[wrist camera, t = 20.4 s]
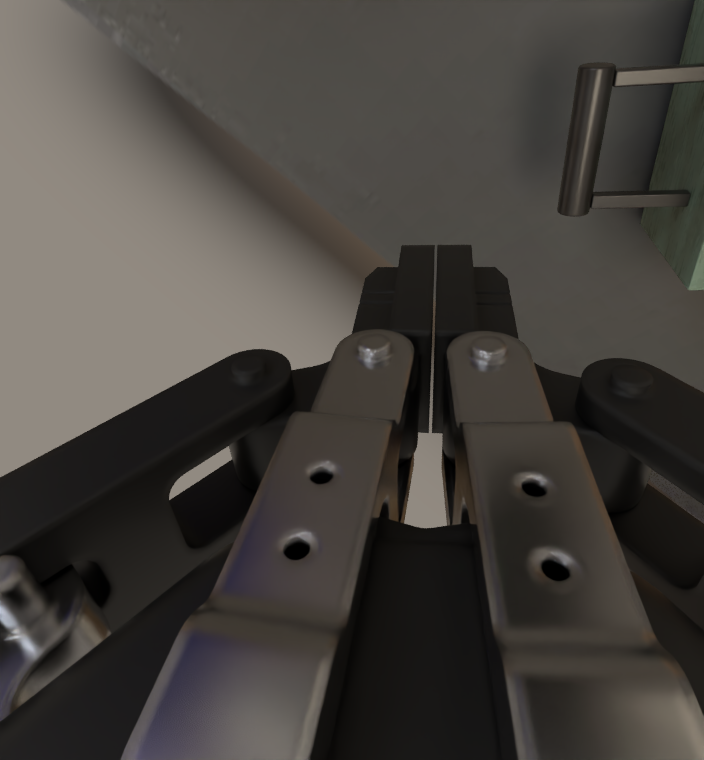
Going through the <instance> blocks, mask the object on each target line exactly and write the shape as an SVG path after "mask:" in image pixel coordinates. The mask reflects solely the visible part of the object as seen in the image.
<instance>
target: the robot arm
mask: <svg viewBox="0 0 704 760" xmlns="http://www.w3.org/2000/svg"><path fill="white" fill-rule="evenodd" d="M434 249H435V245H402V246H401V253H400V259H399V266H398V267H377V268H376V269H375V270H374V271H373V272H372V273H371V274H370V275H369V276H368V277H366V278H365V282H364V286H363V290H362V295H361V299H360V304H359V307H358V311H357V315H356V319H355V323H354V327H353V331H352V334H351V335H349V336H348V337H346V338H344V339H343V340H342V341H341V342H340V343H339V344H338V345H337V347H336V349H335V351H334V354H333V356H332V359H331V361H329V362H327V363H324V364H321V365H317V366H313V367H308V368H303V369H297V370H291V366H290V362H289V360H287V358H286V357H285V356H283V355H282V354H280V353H278V352H275V351H272V350H265V349H254V350H246V351H242V352H238V353H236V354H233V355H231V356H229V357H226V358H225V359H223V360H221V361H219V362H217V363H215V364H213V365H212V366H210V367H208V368H206V369H204V370H202V371H200V372H198V373H196V374H195V375H193V376H191V377H189V378H187V379H185V380H183V381H181V382H179V383H178V384H176V385H174V386H172V387H170V388H168V389H166V390H164V391H162V392H161V393H159V394H157V395H155V396H153V397H151V398H150V399H147V400H145V401H144V402H142V403H140V404H138V405H136V406H134V407H132V408H130V409H129V410H127V411H125V412H123V413H121V414H119V415H117V416H115V417H113V418H112V419H110V420H108V421H106V422H104V423H102V424H100V425H98V426H97V427H95V428H93V429H91V430H89V431H87V432H85V433H83V434H82V435H80V436H78V437H76V438H74V439H72V440H70V441H68V442H66V443H65V444H63V445H61V446H59V447H57V448H55V449H53V450H51V451H49V452H48V453H46V454H44V455H42V456H40V457H38V458H36V459H34V460H32V461H31V462H29V463H27V464H25V465H23V466H21V467H19V468H18V469H16V470H14V471H12V472H10V473H8V474H6V475H4V476H2V477H0V760H704V524H703V523H702V522H701V521H699V520H698V519H696V518H695V517H694V516H692V515H691V514H689V513H688V512H687V511H685V510H684V509H682V508H681V507H680V506H678V505H677V504H675V503H674V502H673V501H671V500H670V499H668V498H667V497H666V496H664V495H663V494H661V493H660V492H659V491H657V490H656V489H654V488H653V487H652V486H650V485H649V484H648V483H647V482H648V480H649V477H650V475H651V472H652V469H653V470H654V471H655V472H657V473H658V474H660V475H661V476H663V477H664V478H666V479H667V480H668V481H670V482H671V483H673V484H674V485H676V486H677V487H679V488H680V489H681V490H683V491H684V492H686V493H687V494H689V495H690V496H692V497H693V498H694V499H696V500H697V501H699V502H700V503H702V504H703V505H704V393H703V392H701V391H699V390H697V389H695V388H694V387H692V386H690V385H688V384H686V383H684V382H683V381H681V380H679V379H677V378H675V377H673V376H672V375H670V374H668V373H666V372H664V371H662V370H660V369H658V368H656V367H654V366H652V365H650V364H647V363H644V362H640V361H637V360H631V359H622V358H611V359H604V360H599V361H596V362H594V363H592V364H590V365H589V366H587V367H586V368H585V369H584V371H583V373H582V377H581V378H580V377H575V376H571V375H566V374H562V373H558V372H554V371H551V370H548V369H545V368H543V367H541V366H539V365H537V364H536V363H534V362H533V359H532V356H531V353H530V351H529V349H528V347H527V346H526V345H525V344H524V343H523V342H521V341H520V340H519V339H518V334H517V328H516V323H515V317H514V312H513V307H512V301H511V296H510V290H509V285H508V280H507V278H506V277H505V276H504V275H503V274H502V273H501V272H500V271H499V270H498V269H497V268H495V267H473V260H472V248H471V245H438V249H437V281H436V315H435V348H434V383H433V418H432V419H433V420H432V433H443V447H442V476H443V486H444V497H445V508H446V518H447V526H443V527H436V528H427V529H426V528H418V527H414V526H411V525H407V524H404V520H405V514H406V507H407V501H408V496H409V490H410V484H411V477H412V472H413V466H414V452H415V450H416V448H417V441H418V432H421V433H429V408H430V406H429V405H430V380H431V379H430V378H431V352H432V351H431V350H432V323H433V320H432V319H433V287H434ZM227 446H229V449H230V452H231V456H232V460H231V461H229V462H228V463H226V464H225V465H223V466H221V467H220V468H219V469H217V470H215V471H214V472H212V473H211V474H209V475H208V476H206V477H205V478H203V479H202V480H200V481H199V482H197V483H195V484H194V485H192V486H191V487H190V488H188V489H186V490H185V491H183V492H182V493H180V494H179V495H177V496H175V497H174V498H172V499H171V500H169V493H170V490H171V488H172V486H173V485H174V483H175V482H176V481H177V479H179V478H180V477H181V476H182V475H183V474H185V473H186V472H188V471H189V470H191V469H193V468H194V467H196V466H198V465H199V464H201V463H202V462H204V461H205V460H207V459H209V458H210V457H212V456H213V455H215V454H216V453H218V452H220V451H221V450H223V449H224V448H226V447H227Z"/></svg>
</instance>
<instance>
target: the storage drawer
mask: <svg viewBox="0 0 704 760" xmlns="http://www.w3.org/2000/svg"><path fill="white" fill-rule="evenodd" d="M661 84H674V88H673V92H672V96H671V100H670V104H669V108H668V112H667V116H666V120H665V124H664V129H663V133H662V137H661V141H660V145H659V149H658V153H657V157H656V161H655V165H654V169H653V174H652V178H651V182H650V186H649V190H648V191H615V192H593V188H594V183H595V177H596V172H597V166H598V161H599V155H600V150H601V145H602V139H603V134H604V128H605V123H606V118H607V112H608V107H609V101H610V96H611V91H612V86H614V87H626V86H643V85H661ZM590 208H591V209H604V208H644V210H643V214H642V219H641V223H640V225H641V226H642V227H643V229H644V230H645V232H646V233H647V234H648V236H649V237H650V238H651V240H652V241H653V243H654V244H655V245H656V247H657V248H658V249H659V251H660V252H661V254H662V255H663V256H664V258H665V259H666V260H667V262H668V263H669V265H670V266H671V267H672V269H673V270H674V272H675V273H676V274H677V276H678V277H679V278H680V280H681V281H682V283H683V284H684V285H685V287H686V288H687V289H688V290H704V0H695V2H694V6H693V10H692V14H691V18H690V22H689V26H688V30H687V35H686V39H685V43H684V47H683V51H682V55H681V59H680V63H679V65H665V66H649V67H633V68H617V69H616V65H615V64H613V63H587V64H582V65H580V66H579V68H578V74H577V81H576V88H575V94H574V101H573V108H572V114H571V121H570V128H569V135H568V141H567V148H566V155H565V161H564V168H563V175H562V181H561V188H560V195H559V202H558V208H557V211H558V212H559V213H560V214H562V215H565V216H583V215H586V214H588V212H589V210H590Z"/></svg>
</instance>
